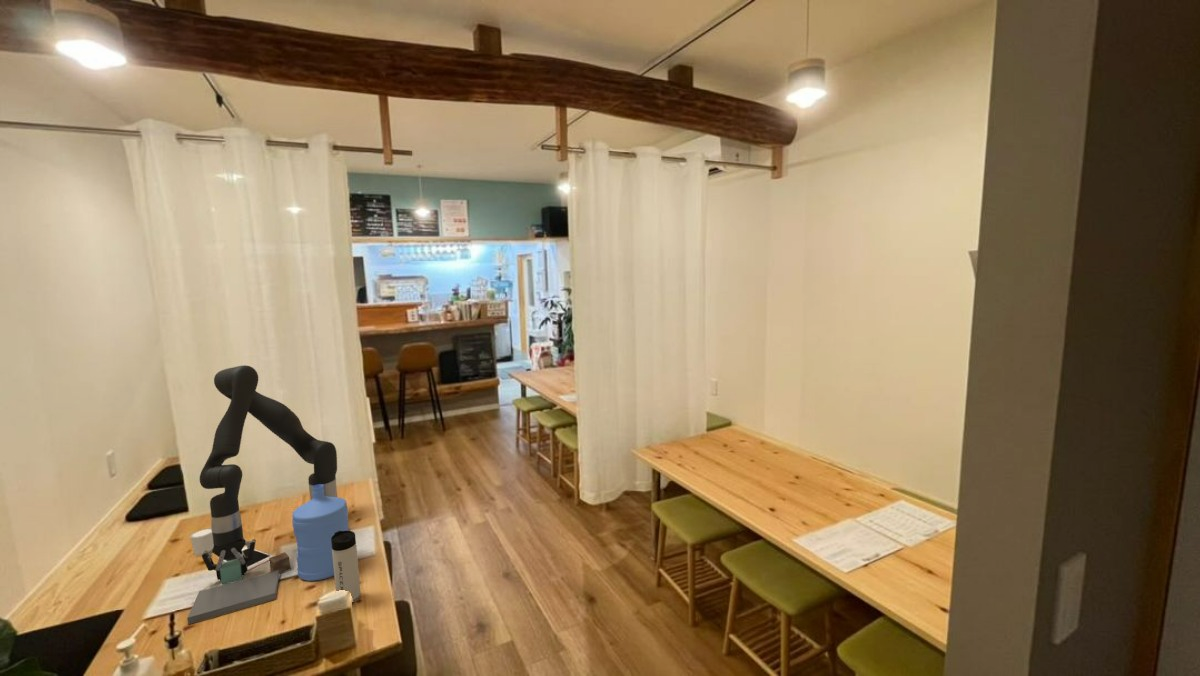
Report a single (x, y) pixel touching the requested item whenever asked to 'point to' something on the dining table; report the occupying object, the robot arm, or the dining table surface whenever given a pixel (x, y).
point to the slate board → (234, 596)
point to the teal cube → (231, 571)
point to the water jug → (318, 533)
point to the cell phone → (257, 558)
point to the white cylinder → (202, 541)
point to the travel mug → (346, 563)
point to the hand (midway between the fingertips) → (232, 576)
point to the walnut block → (280, 563)
